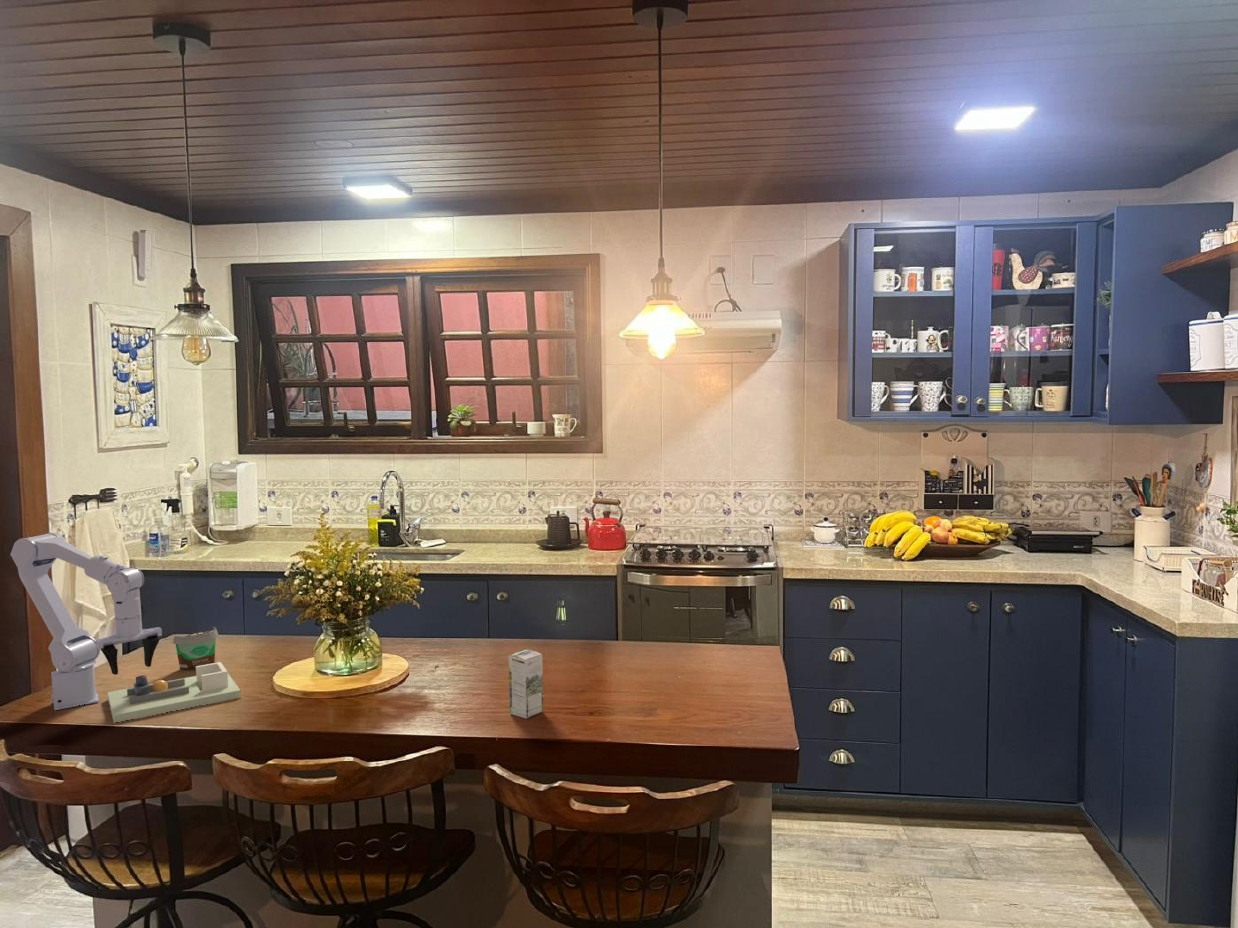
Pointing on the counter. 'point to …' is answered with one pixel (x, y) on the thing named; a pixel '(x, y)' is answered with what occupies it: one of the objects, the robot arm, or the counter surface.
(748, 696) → the counter surface
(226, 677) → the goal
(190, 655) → the food container
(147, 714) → the board
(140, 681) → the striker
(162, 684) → the ball
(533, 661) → the syrup box
